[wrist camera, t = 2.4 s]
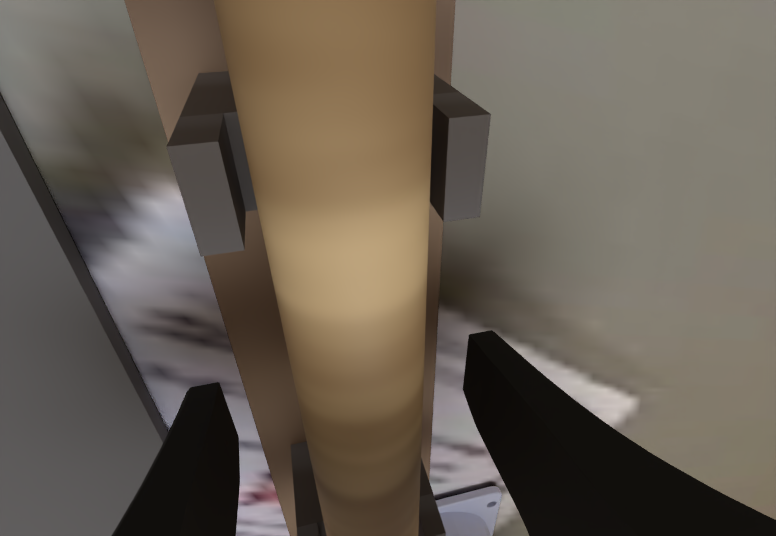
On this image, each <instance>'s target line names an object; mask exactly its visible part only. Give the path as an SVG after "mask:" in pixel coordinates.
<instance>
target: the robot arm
mask: <svg viewBox="0 0 776 536" xmlns="http://www.w3.org/2000/svg"><path fill="white" fill-rule="evenodd" d="M463 391H464V394H465V397H466V400H467V402H468V405H469V408H470V411H471V414H472V416H473V419H474V422H475V424H476V427H477V429H478V431H479V433H480V435H481V437H482V439H483V441H484V443H485V445H486V447H487V449H488V451H489V453H490V455H491V457H492V459H493V461H494V463H495V465H496V467H497V469H498V471H499V473H500V475H501V477H502V479H503V481H504V483H505V485H506V487H507V489H508V491H509V493H510V495H511V497H512V499H513V501H514V503H515V505H516V507H517V509H518V511H519V513H520V515H521V517H522V520H523V522H524V524H525V526H526V528H527V531H528V533H529V536H776V520H774V519H772V518H770V517H768V516H766V515H764V514H762V513H760V512H758V511H756V510H754V509H752V508H750V507H748V506H746V505H744V504H742V503H740V502H738V501H736V500H734V499H732V498H730V497H728V496H726V495H724V494H722V493H720V492H719V491H717V490H715V489H713V488H711V487H709V486H707V485H706V484H704V483H702V482H700V481H698V480H697V479H695V478H693V477H691V476H690V475H688V474H686V473H684V472H682V471H681V470H679V469H677V468H675V467H674V466H672V465H670V464H668V463H667V462H665V461H663V460H662V459H660V458H658V457H657V456H655V455H653V454H652V453H650V452H648V451H647V450H645V449H644V448H642V447H641V446H639V445H638V444H636V443H635V442H633V441H631V440H630V439H628V438H627V437H625V436H624V435H622V434H621V433H619V432H618V431H616V430H615V429H613V428H612V427H610V426H609V425H608V424H606V423H605V422H603V421H602V420H601V419H599V418H598V417H597V416H595V415H594V414H593V413H591V412H590V411H588V410H587V409H586V408H584V407H583V406H582V405H580V404H579V403H578V402H577V401H575V400H574V399H573V398H571V397H570V396H569V395H568V394H566V393H565V392H564V391H563V390H561V389H560V388H559V387H558V386H556V385H555V384H554V383H553V382H552V381H550V380H549V379H548V378H547V377H545V376H544V375H543V374H542V373H541V372H539V371H538V370H537V369H536V368H535V367H534V366H532V365H531V364H530V363H529V362H528V361H527V360H526V359H524V358H523V357H522V356H521V355H520V354H519V353H517V352H516V351H515V350H514V349H513V348H512V347H511V346H510V345H508V344H507V343H506V342H505V341H504V340H503V339H502V338H500V337H499V336H498V335H497V334H496V333H495V332H493V331H492V330H491V331H486V332H480V333H475V334H470V335H469V339H468V348H467V357H466V366H465V375H464V384H463ZM239 485H240V469H239V438H238V434H237V431H236V429H235V426H234V423H233V420H232V417H231V414H230V412H229V409H228V406H227V403H226V400H225V398H224V395H223V392H222V389H221V386H220V383H219V382H217V383H212V384H207V385H201V386H196V387H191V388H190V389H189V390H188V391H187V393H186V395H185V397H184V400H183V402H182V404H181V407H180V409H179V411H178V413H177V415H176V418H175V420H174V422H173V424H172V426H171V428H170V430H169V432H168V434H167V436H166V438H165V440H164V442H163V445H162V447H161V449H160V450H159V452H158V454H157V456H156V458H155V460H154V462H153V464H152V466H151V468H150V469H149V471H148V473H147V475H146V477H145V479H144V481H143V483H142V484H141V486H140V488H139V490H138V492H137V493H136V495H135V497H134V498H133V500H132V502H131V504H130V505H129V507H128V509H127V510H126V512H125V514H124V515H123V517H122V519H121V521H120V522H119V524H118V526H117V527H116V529H115V531H114V532H113V534H112V536H235V535H236V523H237V511H238V498H239ZM501 497H502V494H501V491H500V489H499V488H498V487H497V486H490V487H486V488H482V489H478V490H474V491H471V492H467V493H463V494H459V495H455V496H451V497H447V498H443V499H439V500H435V501H436V504H437V507H438V510H439V513H440V516H441V519H442V522H443V525H444V528H445V532H446V536H493V531H494V527H495V523H496V519H497V514H498V510H499V506H500V501H501Z"/></svg>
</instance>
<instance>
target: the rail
mask: <svg viewBox="0 0 776 536" xmlns="http://www.w3.org/2000/svg"><path fill="white" fill-rule="evenodd" d="M436 1H437V0H214V5H215V10H216V14H217V19H218V24H219V29H220V33H221V38H222V43H223V47H224V52H225V57H226V62H227V66H228V71H229V76H230V81H231V85H232V90H233V95H234V100H235V104H236V109H237V114H238V118H239V123H240V128H241V133H242V137H243V142H244V147H245V152H246V156H247V161H248V166H249V171H250V175H251V180H252V185H253V190H254V194H255V199H256V204H257V208H258V213H259V218H260V223H261V227H262V232H263V237H264V242H265V246H266V251H267V256H268V261H269V265H270V270H271V275H272V279H273V284H274V289H275V294H276V298H277V303H278V308H279V313H280V317H281V322H282V327H283V332H284V336H285V341H286V346H287V350H288V355H289V360H290V365H291V369H292V374H293V379H294V384H295V388H296V393H297V398H298V403H299V407H300V412H301V417H302V421H303V426H304V431H305V436H306V440H307V445H308V450H309V455H310V459H311V464H312V469H313V474H314V478H315V483H316V488H317V492H318V497H319V502H320V507H321V511H322V516H323V521H324V526H325V530H326V535H327V536H418V530H419V501H420V471H421V442H422V412H423V383H424V354H425V324H426V295H427V266H428V236H429V207H430V177H431V148H432V119H433V89H434V60H435V30H436Z"/></svg>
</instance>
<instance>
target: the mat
mask: <svg viewBox="0 0 776 536" xmlns="http://www.w3.org/2000/svg"><path fill="white" fill-rule="evenodd" d="M167 434H168V431H167V429H166V427H165V425H164V423H163V421H162V419H161V417H160V415H159V413H158V411H157V409H156V407H155V405H154V403H153V401H152V399H151V397H150V395H149V393H148V391H147V388H146V386H145V384H144V382H143V380H142V378H141V376H140V374H139V372H138V370H137V368H136V366H135V364H134V362H133V360H132V358H131V356H130V354H129V352H128V350H127V348H126V346H125V344H124V342H123V340H122V338H121V336H120V334H119V332H118V330H117V328H116V326H115V324H114V322H113V320H112V318H111V316H110V314H109V312H108V310H107V308H106V306H105V304H104V302H103V300H102V298H101V296H100V294H99V292H98V290H97V288H96V286H95V284H94V282H93V280H92V278H91V276H90V274H89V272H88V270H87V268H86V266H85V264H84V262H83V260H82V258H81V256H80V254H79V252H78V250H77V248H76V246H75V244H74V242H73V240H72V238H71V236H70V234H69V232H68V230H67V228H66V226H65V224H64V222H63V220H62V218H61V216H60V214H59V212H58V210H57V208H56V205H55V203H54V201H53V199H52V197H51V195H50V193H49V191H48V189H47V187H46V185H45V183H44V181H43V179H42V177H41V175H40V173H39V171H38V169H37V167H36V165H35V163H34V161H33V159H32V157H31V155H30V153H29V151H28V149H27V147H26V145H25V143H24V141H23V139H22V137H21V135H20V133H19V131H18V129H17V127H16V125H15V123H14V121H13V119H12V117H11V115H10V113H9V111H8V109H7V107H6V105H5V103H4V101H3V99H2V97H1V95H0V536H112V534H113V532H114V531H115V529H116V527H117V526H118V524H119V522H120V521H121V519H122V517H123V515H124V514H125V512H126V510H127V509H128V507H129V505H130V504H131V502H132V500H133V498H134V497H135V495H136V493H137V492H138V490H139V488H140V486H141V484H142V483H143V481H144V479H145V477H146V475H147V473H148V471H149V469H150V468H151V466H152V464H153V462H154V460H155V458H156V456H157V454H158V452H159V450H160V449H161V447H162V445H163V442H164V440H165V438H166V436H167Z"/></svg>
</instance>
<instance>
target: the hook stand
mask: <svg viewBox="0 0 776 536" xmlns="http://www.w3.org/2000/svg"><path fill="white" fill-rule="evenodd" d="M124 1H125V4H126V7H127V10H128V13H129V17H130V20H131V23H132V26H133V30H134V33H135V36H136V39H137V43H138V46H139V49H140V52H141V56H142V59H143V62H144V65H145V68H146V72H147V75H148V78H149V81H150V85H151V88H152V91H153V94H154V98H155V101H156V104H157V107H158V110H159V114H160V117H161V120H162V123H163V127H164V130H165V133H166V136H167V140H168V144H167V150H168V153H169V156H170V160H171V163H172V166H173V169H174V172H175V175H176V179H177V182H178V185H179V188H180V191H181V195H182V198H183V201H184V204H185V207H186V211H187V214H188V217H189V220H190V223H191V227H192V230H193V233H194V236H195V239H196V242H197V246H198V249H199V252H200V255H201V256H204V259H205V262H206V266H207V269H208V272H209V275H210V279H211V282H212V285H213V288H214V292H215V295H216V298H217V301H218V305H219V308H220V311H221V314H222V317H223V321H224V324H225V327H226V330H227V334H228V337H229V340H230V343H231V347H232V350H233V353H234V356H235V359H236V363H237V366H238V369H239V372H240V376H241V379H242V382H243V385H244V389H245V392H246V395H247V398H248V402H249V405H250V408H251V411H252V414H253V418H254V421H255V424H256V427H257V431H258V434H259V437H260V440H261V444H262V447H263V450H264V453H265V457H266V460H267V463H268V466H269V469H270V473H271V476H272V479H273V482H274V486H275V489H276V492H277V495H278V499H279V502H280V505H281V508H282V511H283V515H284V518H285V521H286V524H287V528H288V531H289V534H290V536H327V535H326V530H325V526H324V521H323V516H322V511H321V507H320V502H319V497H318V492H317V488H316V483H315V478H314V474H313V469H312V464H311V459H310V455H309V450H308V445H307V440H306V436H305V431H304V426H303V421H302V417H301V412H300V407H299V403H298V398H297V393H296V388H295V384H294V379H293V374H292V369H291V365H290V360H289V355H288V350H287V346H286V341H285V336H284V332H283V327H282V322H281V317H280V313H279V308H278V303H277V298H276V294H275V289H274V284H273V279H272V275H271V270H270V265H269V261H268V256H267V251H266V246H265V242H264V237H263V232H262V227H261V223H260V218H259V213H258V208H257V204H256V199H255V194H254V190H253V185H252V180H251V175H250V171H249V166H248V161H247V156H246V152H245V147H244V142H243V137H242V133H241V128H240V123H239V118H238V114H237V109H236V104H235V100H234V95H233V90H232V85H231V81H230V76H229V71H228V66H227V62H226V57H225V52H224V47H223V43H222V38H221V33H220V29H219V24H218V19H217V14H216V10H215V5H214V0H124ZM454 15H455V0H437V1H436V30H435V60H434V89H433V119H432V148H431V177H430V207H429V236H428V266H427V295H426V324H425V354H424V383H423V412H422V442H421V471H420V501H419V530H418V536H446V532H445V528H444V525H443V522H442V519H441V516H440V513H439V510H438V507H437V504H436V501H435V498H434V495H433V492H432V489H431V486H430V483H429V472H430V454H431V436H432V417H433V399H434V381H435V363H436V344H437V326H438V308H439V289H440V271H441V253H442V235H443V222H447V221H454V220H461V219H468V218H475V217H480V210H481V201H482V191H483V182H484V173H485V163H486V154H487V145H488V135H489V126H490V117H491V114H490V113H488V112H487V111H486V110H484V109H483V108H481V107H480V106H478V105H477V104H476V103H474V102H473V101H471V100H470V99H469V98H467V97H466V96H464V95H463V94H462V93H460V92H459V91H457V90H456V89H455V88H453V87H452V86H451V70H452V52H453V33H454Z"/></svg>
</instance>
